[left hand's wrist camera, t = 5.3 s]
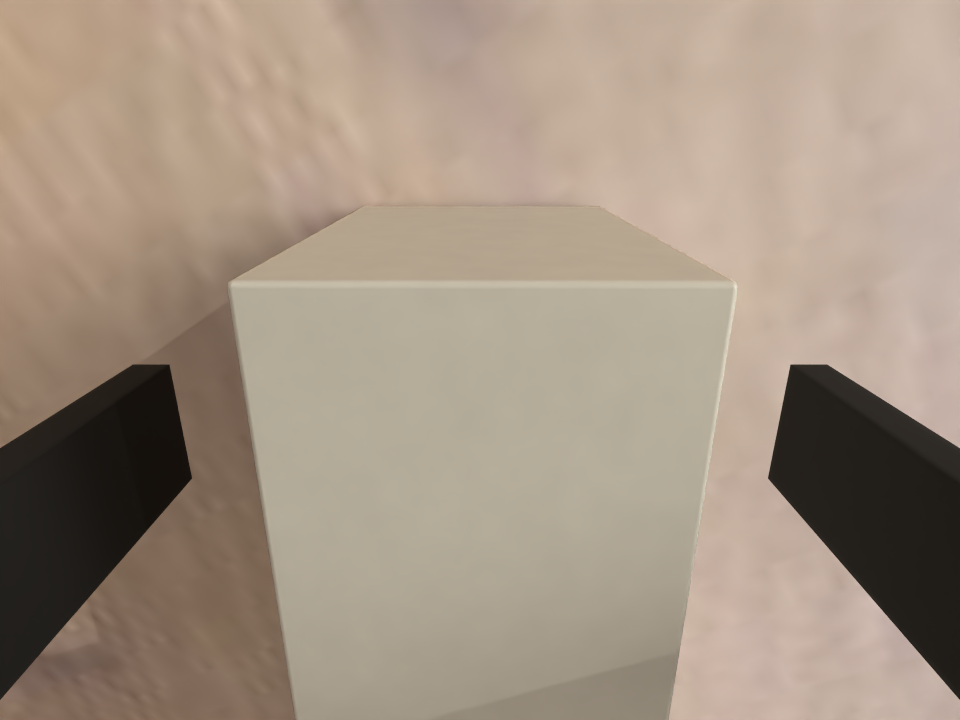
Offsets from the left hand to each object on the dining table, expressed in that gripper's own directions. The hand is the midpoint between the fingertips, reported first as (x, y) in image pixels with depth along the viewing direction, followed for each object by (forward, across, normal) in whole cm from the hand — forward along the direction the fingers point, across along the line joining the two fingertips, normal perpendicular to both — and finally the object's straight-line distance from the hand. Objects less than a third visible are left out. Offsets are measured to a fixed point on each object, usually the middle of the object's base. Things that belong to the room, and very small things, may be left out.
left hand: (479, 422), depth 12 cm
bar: (+3, 0, -26) cm, 26 cm away
